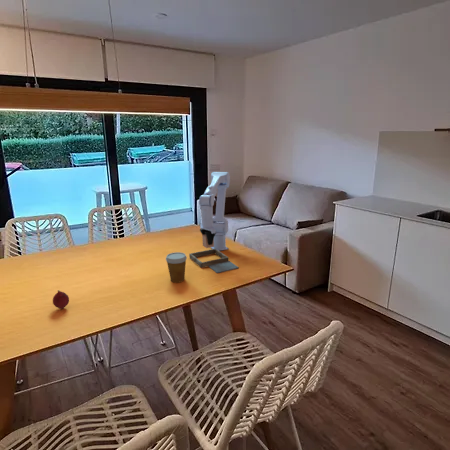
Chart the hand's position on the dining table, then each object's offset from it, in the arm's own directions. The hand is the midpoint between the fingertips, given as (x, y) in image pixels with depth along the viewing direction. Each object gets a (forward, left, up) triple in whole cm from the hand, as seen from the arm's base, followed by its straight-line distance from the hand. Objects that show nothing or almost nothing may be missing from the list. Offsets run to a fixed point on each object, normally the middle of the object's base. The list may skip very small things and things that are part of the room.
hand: (208, 243), depth 179 cm
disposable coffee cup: (+15, -23, -10) cm, 29 cm away
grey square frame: (0, 0, -9) cm, 9 cm away
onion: (+17, -72, -10) cm, 75 cm away
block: (0, 0, -2) cm, 2 cm away
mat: (+13, +2, -9) cm, 16 cm away
